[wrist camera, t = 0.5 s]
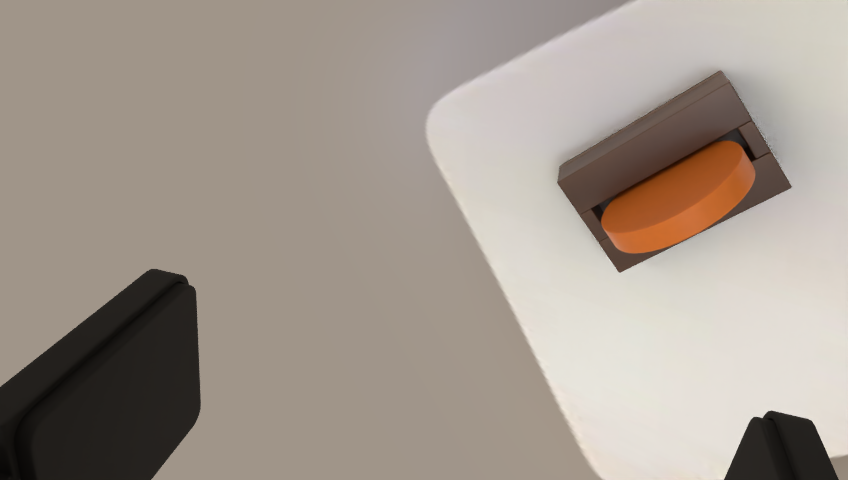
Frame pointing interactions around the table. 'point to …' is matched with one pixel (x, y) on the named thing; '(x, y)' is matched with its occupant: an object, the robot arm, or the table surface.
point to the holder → (668, 156)
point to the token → (679, 199)
